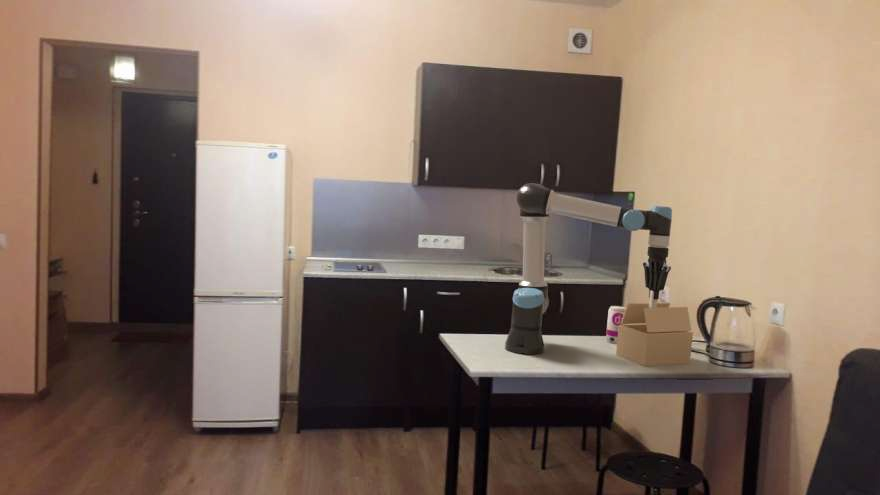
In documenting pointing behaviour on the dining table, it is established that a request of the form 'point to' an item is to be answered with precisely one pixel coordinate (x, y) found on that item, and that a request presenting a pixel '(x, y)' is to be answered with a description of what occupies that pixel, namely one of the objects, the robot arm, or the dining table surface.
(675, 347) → the carton
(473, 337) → the dining table surface
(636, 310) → the far flap
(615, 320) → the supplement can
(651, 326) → the near flap
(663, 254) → the robot arm
